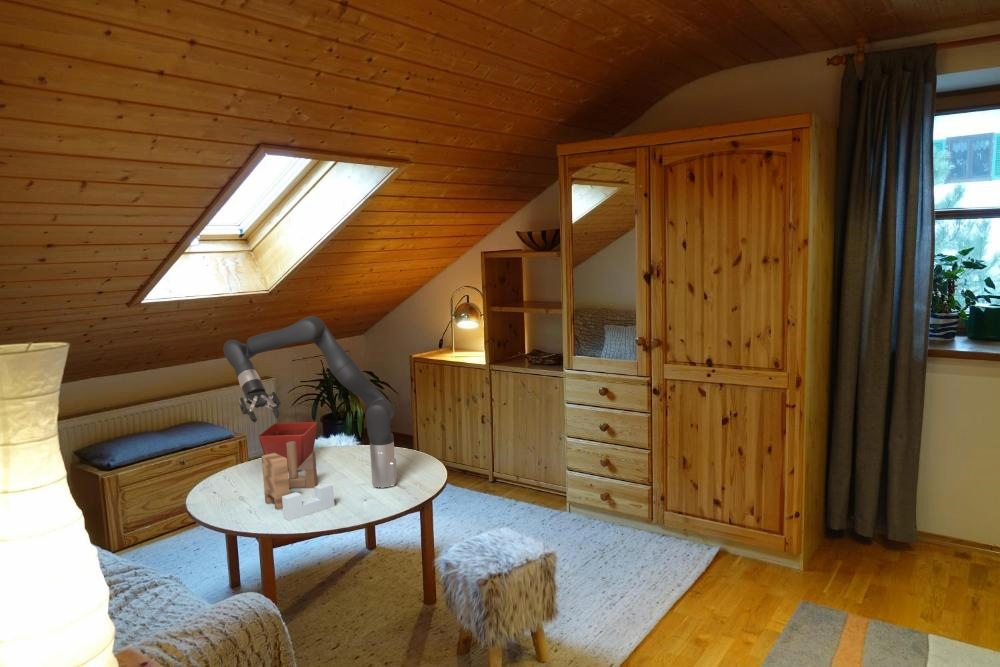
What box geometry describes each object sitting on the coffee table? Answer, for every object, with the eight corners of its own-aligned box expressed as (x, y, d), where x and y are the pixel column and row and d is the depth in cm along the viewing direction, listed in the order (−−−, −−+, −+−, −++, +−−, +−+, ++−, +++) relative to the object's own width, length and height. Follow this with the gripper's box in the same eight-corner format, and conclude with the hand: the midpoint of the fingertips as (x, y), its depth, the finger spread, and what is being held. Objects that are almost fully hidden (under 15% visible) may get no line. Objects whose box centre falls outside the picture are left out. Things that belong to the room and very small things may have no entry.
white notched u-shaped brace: (329, 503, 262) (328, 482, 261) (334, 506, 259) (333, 485, 258) (283, 518, 250) (282, 496, 248) (288, 521, 247) (286, 498, 246)
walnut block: (265, 502, 265) (261, 455, 262) (278, 499, 268) (274, 452, 265) (277, 510, 257) (273, 461, 255) (290, 506, 261) (286, 458, 258)
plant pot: (260, 475, 295) (257, 435, 293) (277, 460, 314) (274, 422, 312) (306, 474, 294) (303, 434, 292) (320, 459, 313) (317, 422, 311)
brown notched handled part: (315, 488, 278) (311, 443, 276) (287, 488, 279) (284, 443, 276) (317, 484, 282) (314, 440, 279) (291, 485, 282) (287, 441, 280)
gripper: (235, 381, 265) (250, 417, 258) (271, 375, 275) (287, 409, 268) (230, 393, 270) (245, 428, 263) (266, 386, 279) (281, 420, 273)
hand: (266, 419), depth 265 cm, fingers open, 8 cm apart
